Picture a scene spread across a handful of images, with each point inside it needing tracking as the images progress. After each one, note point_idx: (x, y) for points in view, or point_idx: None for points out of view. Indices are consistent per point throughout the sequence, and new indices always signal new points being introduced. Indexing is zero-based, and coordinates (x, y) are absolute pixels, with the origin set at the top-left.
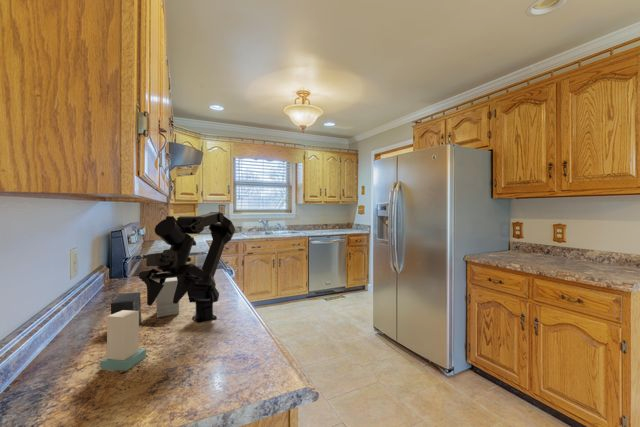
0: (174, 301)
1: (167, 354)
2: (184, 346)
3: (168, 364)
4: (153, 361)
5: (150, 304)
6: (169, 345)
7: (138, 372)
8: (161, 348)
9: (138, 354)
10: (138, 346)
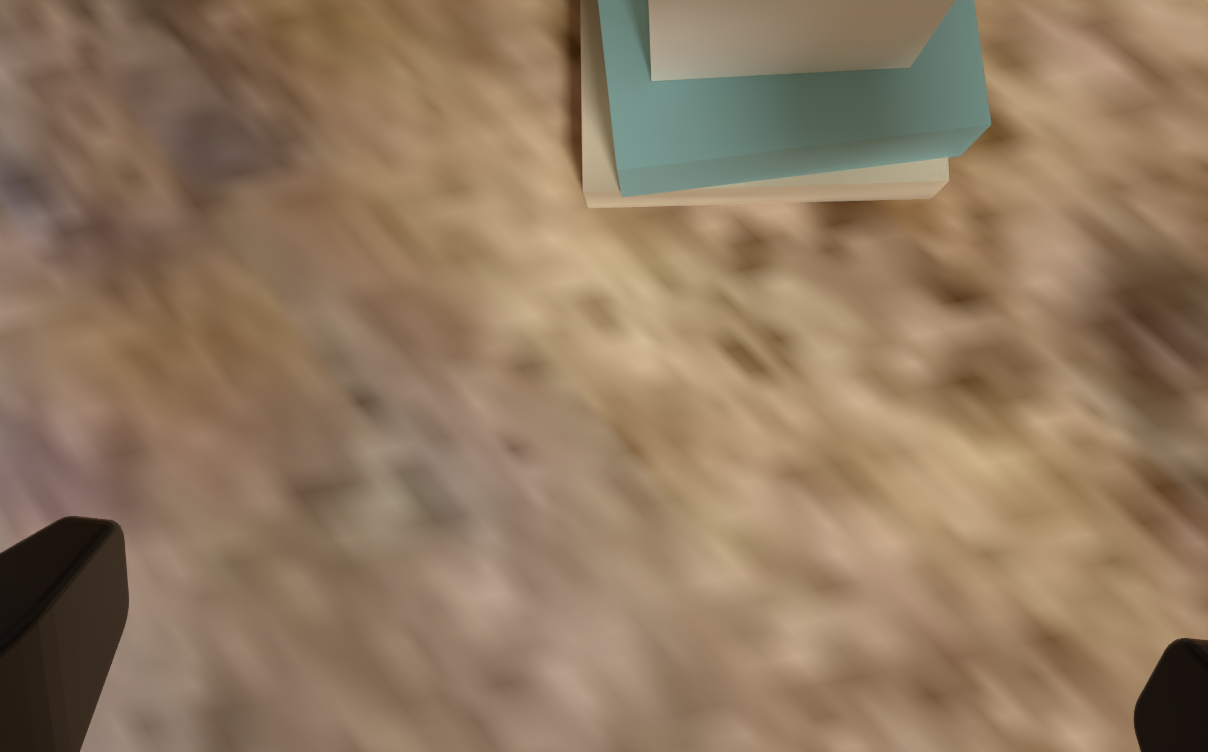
0: (48, 541)
1: (510, 440)
2: (440, 687)
3: (328, 232)
4: (554, 252)
5: (1157, 715)
6: (666, 673)
7: (536, 14)
8: (710, 570)
9: (601, 28)
10: (650, 49)
